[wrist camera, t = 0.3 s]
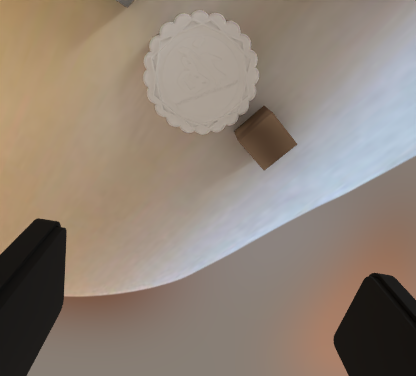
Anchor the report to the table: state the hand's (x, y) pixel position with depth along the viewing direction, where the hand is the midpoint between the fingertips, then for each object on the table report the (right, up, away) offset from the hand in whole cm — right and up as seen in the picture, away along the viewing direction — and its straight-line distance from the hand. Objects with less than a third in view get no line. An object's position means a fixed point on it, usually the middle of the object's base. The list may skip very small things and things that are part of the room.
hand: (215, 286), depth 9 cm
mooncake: (-1, +16, +24) cm, 29 cm away
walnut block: (+6, +10, +27) cm, 29 cm away
